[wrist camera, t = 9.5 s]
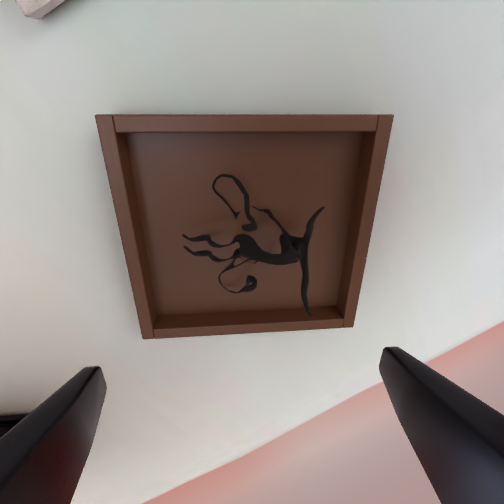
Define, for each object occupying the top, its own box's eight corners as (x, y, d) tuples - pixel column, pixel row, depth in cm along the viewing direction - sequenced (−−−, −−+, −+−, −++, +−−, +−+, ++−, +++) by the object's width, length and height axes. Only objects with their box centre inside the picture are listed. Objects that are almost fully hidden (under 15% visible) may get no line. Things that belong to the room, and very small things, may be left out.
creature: (197, 281, 20) (309, 289, 19) (167, 332, 16) (314, 346, 15) (185, 169, 17) (320, 172, 16) (142, 190, 12) (331, 195, 11)
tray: (149, 319, 21) (142, 339, 19) (110, 114, 15) (94, 114, 13) (342, 309, 22) (353, 327, 20) (374, 115, 16) (394, 114, 14)
